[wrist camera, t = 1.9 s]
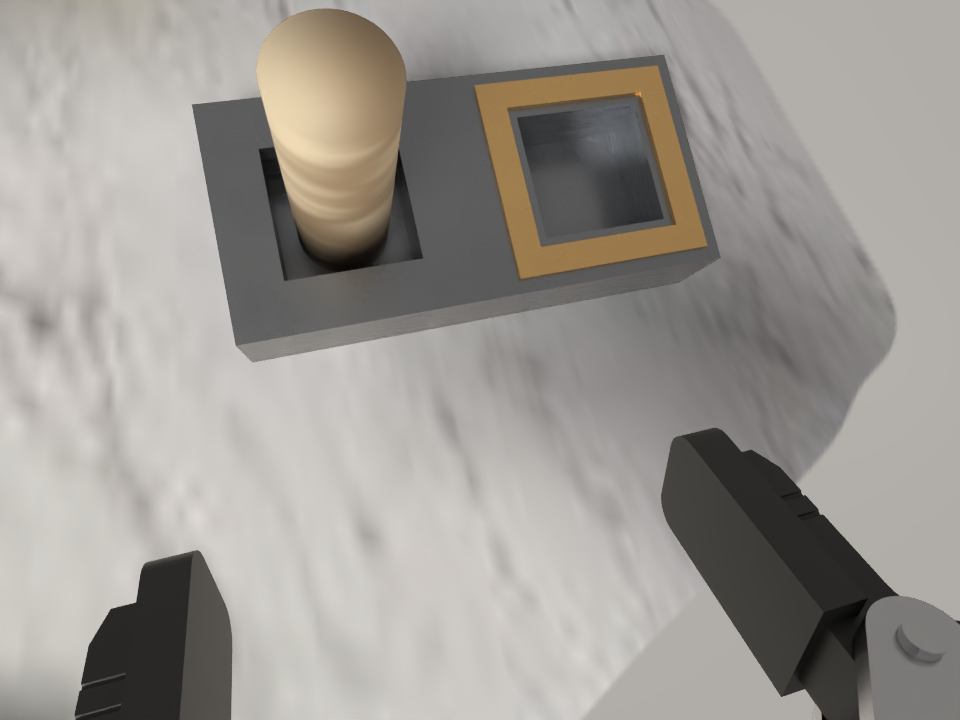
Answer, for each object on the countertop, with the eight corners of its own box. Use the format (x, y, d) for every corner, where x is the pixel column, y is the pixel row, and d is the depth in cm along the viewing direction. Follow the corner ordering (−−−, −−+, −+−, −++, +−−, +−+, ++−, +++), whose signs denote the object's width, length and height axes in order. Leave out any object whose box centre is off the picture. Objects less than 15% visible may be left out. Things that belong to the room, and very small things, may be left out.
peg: (306, 279, 29) (271, 151, 17) (290, 194, 29) (244, 14, 18) (396, 264, 30) (419, 134, 18) (378, 182, 30) (390, 3, 18)
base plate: (252, 362, 29) (234, 344, 25) (213, 151, 30) (190, 101, 26) (678, 282, 33) (723, 256, 29) (629, 101, 34) (665, 52, 30)
